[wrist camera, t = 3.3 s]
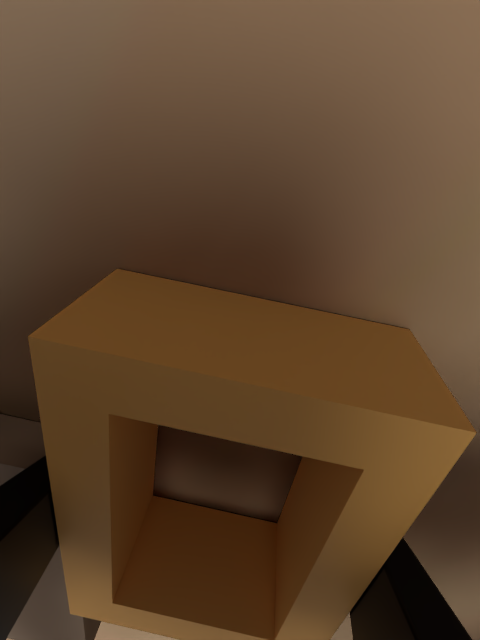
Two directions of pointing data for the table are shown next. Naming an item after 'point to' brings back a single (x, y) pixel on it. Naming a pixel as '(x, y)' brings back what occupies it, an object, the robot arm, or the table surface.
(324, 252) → the table surface
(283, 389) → the tan rectangular frame
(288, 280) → the table surface
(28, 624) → the keeper board
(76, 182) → the table surface
